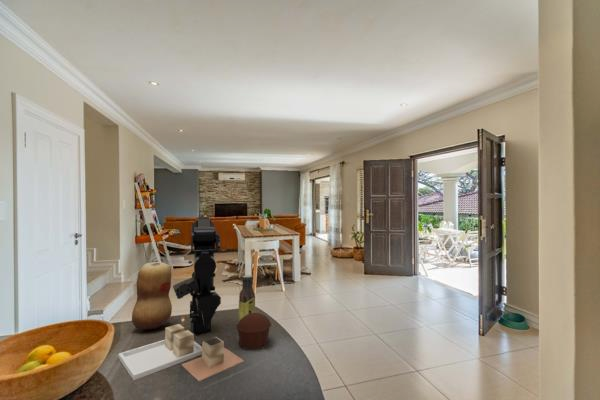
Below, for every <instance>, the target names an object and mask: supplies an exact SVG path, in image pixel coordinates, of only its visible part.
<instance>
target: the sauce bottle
mask: <svg viewBox="0 0 600 400" xmlns="http://www.w3.org/2000/svg"><path fill="white" fill-rule="evenodd" d="M241 277H242V278H241V280H242V289H241V290H240V292H239V296H238V297H239V298H238V322H239V321H240V320H241V319H242V318H243V317H244V316H246V315H248V314H251V313H256V294H255V291H254V287H253V279H254V277H253V275H249V274H248V275H242V276H241ZM238 322H237V323H238Z"/></svg>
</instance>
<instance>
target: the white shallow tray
mask: <svg viewBox="0 0 600 400" xmlns="http://www.w3.org/2000/svg"><path fill="white" fill-rule="evenodd" d="M117 356H118V359H119V360H120V362H121V364H122V365H123V367H124V368H125V370H126V371H127V372H128V374H129V375H130V377H131V379H132V380H133V381H136V380H139V379H141V378H144V377H146V376H149V375H151V374H154V373H157V372H160V371H163V370H166V369H168V368H170V367H173V366H177V365H178V364H182V363H185V362H186V361H187V362H188V361H189V360H193V359H195V358H198V357H199V356H200V357H201V356H202V346H201V345H200V344H199V343H198V342H196V341H195V340H194V352H193V353H190V354H188V355H185V356H182V357H179V358H177V357H176V356H175V355H174V354H173V350H171V351H170V350H169V349H168V348H166V347H165V339H161V340H159V341H155V342H152V343H149V344H145V345H143V346H139V347H135V348H132V349H128V350H126V351H122V352H120V353H118V355H117Z"/></svg>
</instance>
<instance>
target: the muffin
mask: <svg viewBox="0 0 600 400" xmlns="http://www.w3.org/2000/svg"><path fill="white" fill-rule="evenodd" d="M271 326H272V323H271V321H270V319H269V317H267V316H266V315H265V314H263V313H260V312H255V313H251V314H248V315H246V316H244V317H243V318H242V319H241V320H240V321H239V322H237V324H236V330H237V331H238V339H239V345H240V346H241V348H243V349H246V350H258V349H260V348H262V349H264V348H263V347H266V346H267V345H266V343H267V344H268V340H269V339H268V338H269V335H270V334H269V333H270V329H271ZM265 345H266V346H265Z"/></svg>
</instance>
